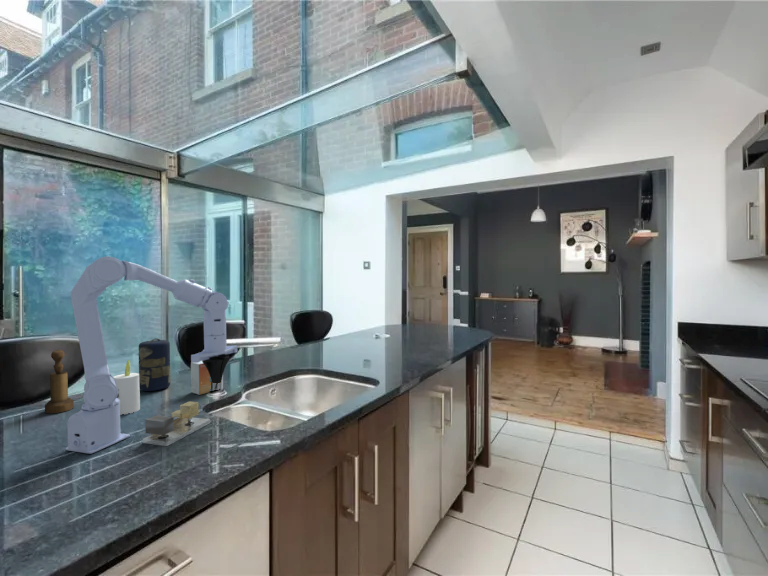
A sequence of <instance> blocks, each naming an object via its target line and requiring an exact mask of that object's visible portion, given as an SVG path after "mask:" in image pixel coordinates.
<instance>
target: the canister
mask: <svg viewBox="0 0 768 576" xmlns="http://www.w3.org/2000/svg"><path fill="white" fill-rule="evenodd" d="M138 373H139V387H140V390H141V391H143V392H152V391H153V392H154V391H160V390H161V391H162V390H164V389H166V388H169V386H171V382H172V381H171V343H170V341H169V340H167V339H160V338H155V337H154V338H152V339H151V340H146V341H142V342H140V343H139V344H138Z"/></svg>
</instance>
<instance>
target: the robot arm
mask: <svg viewBox="0 0 768 576" xmlns="http://www.w3.org/2000/svg"><path fill="white" fill-rule="evenodd" d="M122 279H123V281H140V282H142V283H146V284H149V285H151V286H153V287H154V286H155V287H157V288H159V289H163V290H166V291H169V292H171V293H172V295H173V297H174V299H176V300H178V301H181V302H183V303H185V304H188V305H191V306H194V307H195V308H196V307H197V308H201V309H202V310H203V345H204V349H202V351H201V352H200V351H199V352H198V353H195V354H191V355H190V361H191V362H194V363H198V362H200V361H202V362H203V363H204V365H205V366H206V368H207V370H208V372H209V374H210V377H211V381H212V383H216V384H218V383H221V384H222V380H223V375H224V372H225V368H226V366H227V364H228V362H229V361H230V356H229V355H230V354H234V353H235V354H236V353H238V345H228V346H227V343H228V342H227V318H226V310H227V308H228V306H229V301H228V298H227V297H226V296H225V294H223V293H221V292H219V291H218V292H217V291H213V288H212V287H210V286H208V287H205V286H203V285H201V284H198V283H196V280H195V279H191V278H189V279H186V278H184V279H181V280H178V281H177V280H175V279H173V278H171V277H169V276H166V275H163V274H162V273H159V272H156V271H154V270H153V269H150V268H148V267H145V266H144V265H140V264H137V263H134V262H130V261H127V260H120V259H118V258H116V257H115V256H110V255H109V256H106V255H105V256H102V257H98V258H97V259H96V260H95V261H93V262H91V263H90V264H89V265H87V266H86V268H85V269H84V270H83V272H82V274H81V275H80V277H79V278H78V279H77V281H76V283H75V284H74V286H73V287H72V289H71V291H70V300H71V305H72V309H73V310H72V311H73V316H74V320H75V321H74V322H75V325H76V326H75V327H76V332H77V336H78V337H77V338H78V342H79V343H78V344H79V348H80V352H81V353H80V354H81V359H82V365H83V370H84V377H85V384H84V387H83V391H84V392H83V394H82V398H83V403H82V405H81V409H80V410H79V411H77V412H75V413H74V414H71V415H70V416H69V418H68V420H67V424H66V425H67V429H66V430H67V432H66V433H67V447H65V450H66V451H71V452H75V453H83V454H93V453H94V454H95V453H96V452H99V451H101V450H103V449H105V448H108V447H110V446H112V445H115V444H116V443H119V442H121V441H122V440H125V439H128V438H130V436H131V435H130V434H129V433H121V415H120V400H119V399H118V398H117V395H118V389H117V387H116V380H115V379H114V376H113V375H112V374H111V373H110V368H109V363H108V358H107V351H106V346H105V341H104V335H103V329H102V324H101V318H100V313H99V307H98V302H97V299H98V298H99V297H100V295H102V293H103V292H104V291H106V289H107V288H108V287H111V286H112V285H114V284H116V283H118V282H120V281H121V280H122ZM191 362H190V363H191Z"/></svg>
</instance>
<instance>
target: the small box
mask: <svg viewBox="0 0 768 576" xmlns="http://www.w3.org/2000/svg"><path fill="white" fill-rule="evenodd" d="M190 382H191V384H190V385H191V386H190V387H191V390H190V391H191V393H192V394H196V395H198V396H199V395H203V394H207V393H210V392H209V391H210V389H211V382H210V374H209V372H208V370H207V368H206V366H205V365H204V363H203V362H202V361H200V362H198V363H194V362H190Z"/></svg>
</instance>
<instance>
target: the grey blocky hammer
mask: <svg viewBox="0 0 768 576" xmlns="http://www.w3.org/2000/svg"><path fill="white" fill-rule="evenodd" d="M174 418H175V417H172V416H167V415H159V414H158V415H157V414H156V415H154V416H151V417H149V418H146V419H145V420H144V421H145V422H144V423H145V425H144V426H145V434H150V435H152V436H157V435H162V437H166V434H167V433H169V432H171V431H173V430H174V427H176V426H178V425H180V424H182V423H184V422H186V421H188V418H180V417H176V418H175V419H174Z"/></svg>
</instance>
